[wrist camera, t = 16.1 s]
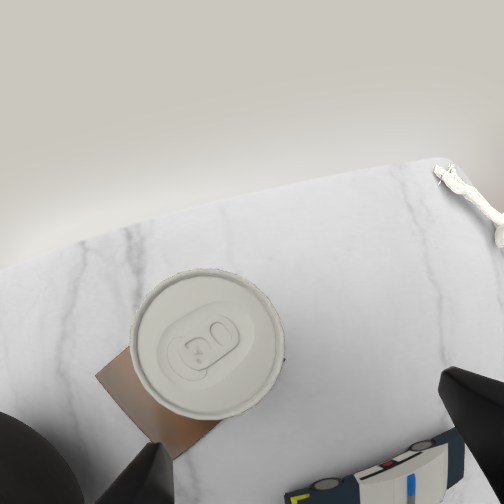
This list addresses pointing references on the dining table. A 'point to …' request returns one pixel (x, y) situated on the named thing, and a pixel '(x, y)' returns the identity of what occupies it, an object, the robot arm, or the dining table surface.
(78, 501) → the decorative egg
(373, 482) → the toy car
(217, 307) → the beverage can
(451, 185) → the figurine
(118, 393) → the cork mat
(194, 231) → the dining table surface
